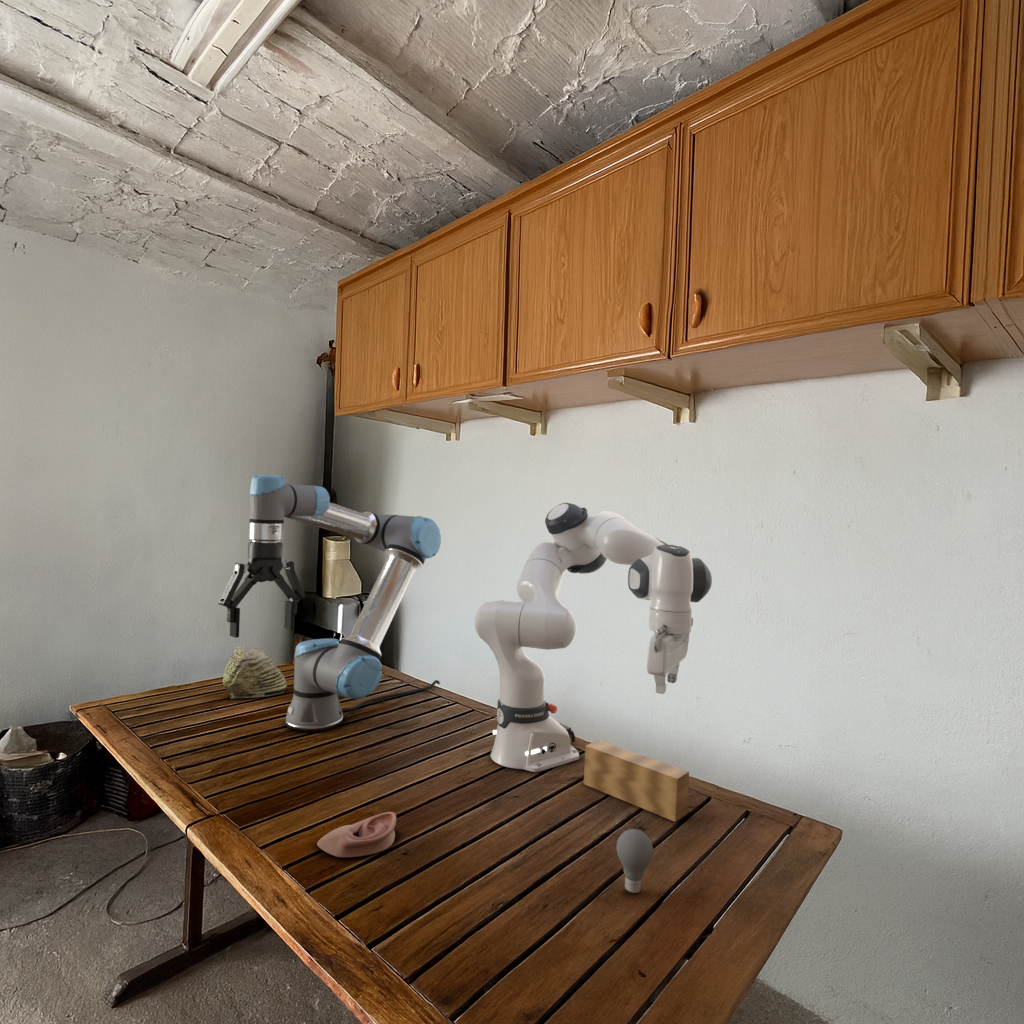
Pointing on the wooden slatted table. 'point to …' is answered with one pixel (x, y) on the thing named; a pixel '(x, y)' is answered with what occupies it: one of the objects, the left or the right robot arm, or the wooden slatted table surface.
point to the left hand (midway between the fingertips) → (262, 632)
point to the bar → (637, 779)
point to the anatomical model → (361, 837)
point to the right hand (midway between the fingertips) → (666, 687)
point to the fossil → (252, 674)
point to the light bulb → (634, 857)
